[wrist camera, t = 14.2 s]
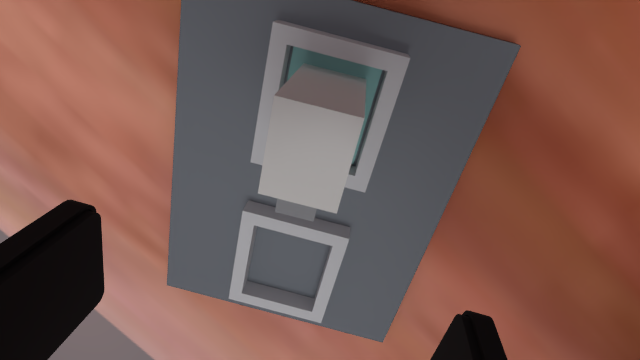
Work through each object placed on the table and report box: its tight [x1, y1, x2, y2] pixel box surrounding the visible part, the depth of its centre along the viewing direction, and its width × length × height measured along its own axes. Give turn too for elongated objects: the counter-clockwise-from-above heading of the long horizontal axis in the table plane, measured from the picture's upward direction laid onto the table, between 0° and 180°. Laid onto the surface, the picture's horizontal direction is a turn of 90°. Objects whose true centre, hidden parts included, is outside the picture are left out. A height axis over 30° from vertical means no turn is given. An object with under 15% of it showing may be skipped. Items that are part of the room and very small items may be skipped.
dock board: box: [167, 0, 521, 342], centre depth 27 cm, size 20×26×2 cm
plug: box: [258, 63, 366, 222], centre depth 21 cm, size 4×6×8 cm
